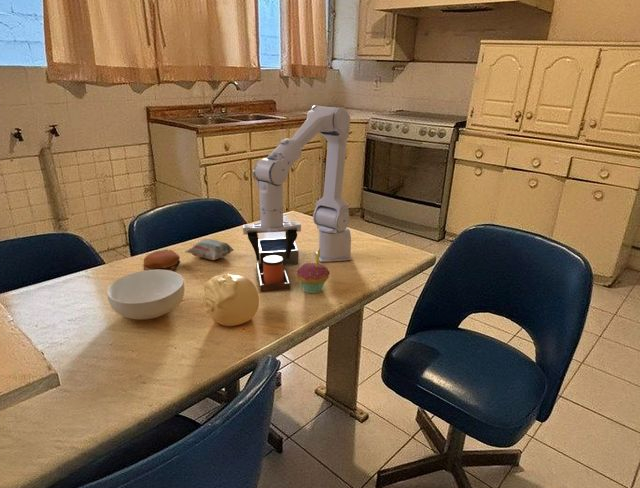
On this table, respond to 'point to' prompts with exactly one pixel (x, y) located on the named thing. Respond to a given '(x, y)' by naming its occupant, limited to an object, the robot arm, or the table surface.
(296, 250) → the basin
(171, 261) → the burger
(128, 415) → the table surface
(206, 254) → the packaged food
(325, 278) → the cupcake
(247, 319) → the sculpture
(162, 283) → the cereal bowl
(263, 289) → the tray
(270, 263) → the container
